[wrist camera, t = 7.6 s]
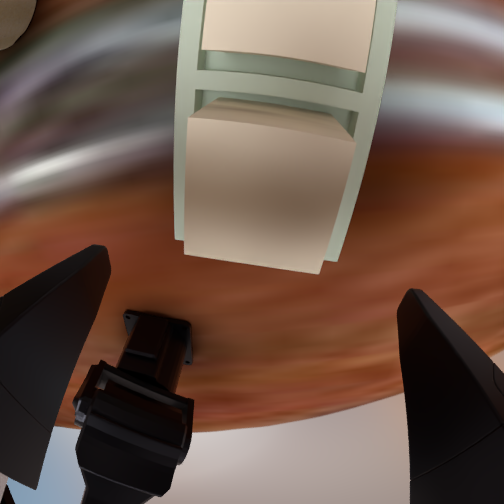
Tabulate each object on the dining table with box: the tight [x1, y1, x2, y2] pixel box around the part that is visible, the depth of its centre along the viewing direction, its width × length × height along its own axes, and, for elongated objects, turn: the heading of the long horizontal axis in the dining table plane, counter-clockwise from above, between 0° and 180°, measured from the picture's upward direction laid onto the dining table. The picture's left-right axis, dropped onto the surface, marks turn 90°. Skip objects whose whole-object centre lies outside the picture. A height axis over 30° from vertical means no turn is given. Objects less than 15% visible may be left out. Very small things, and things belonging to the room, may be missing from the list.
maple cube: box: [184, 97, 357, 274], centre depth 14 cm, size 6×6×6 cm
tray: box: [174, 0, 397, 262], centre depth 13 cm, size 19×10×6 cm, turn 174°
